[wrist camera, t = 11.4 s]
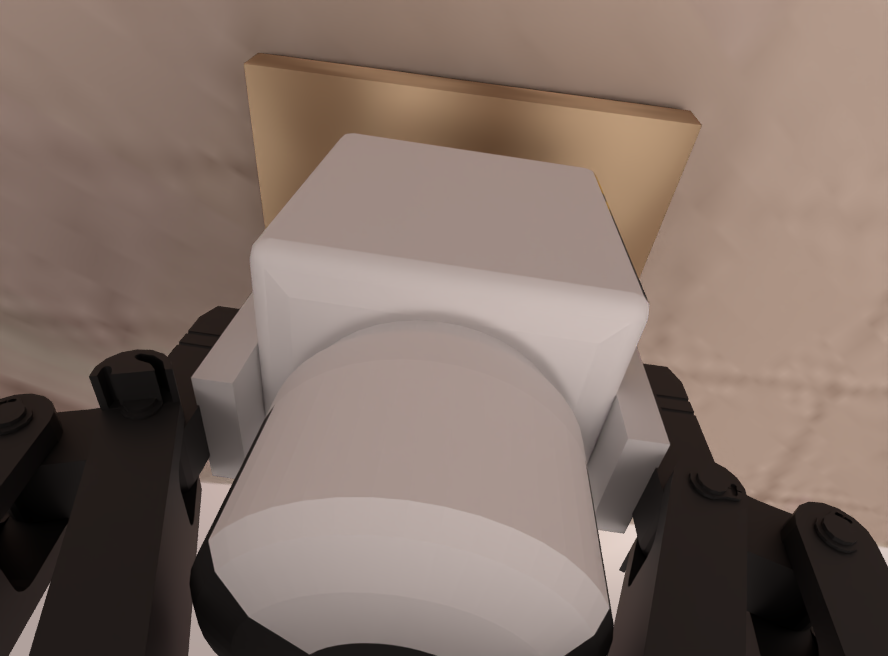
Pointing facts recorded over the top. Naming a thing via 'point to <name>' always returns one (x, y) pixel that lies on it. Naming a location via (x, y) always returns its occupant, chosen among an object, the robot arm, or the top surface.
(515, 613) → the medicine bottle
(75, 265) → the top surface
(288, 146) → the plank
